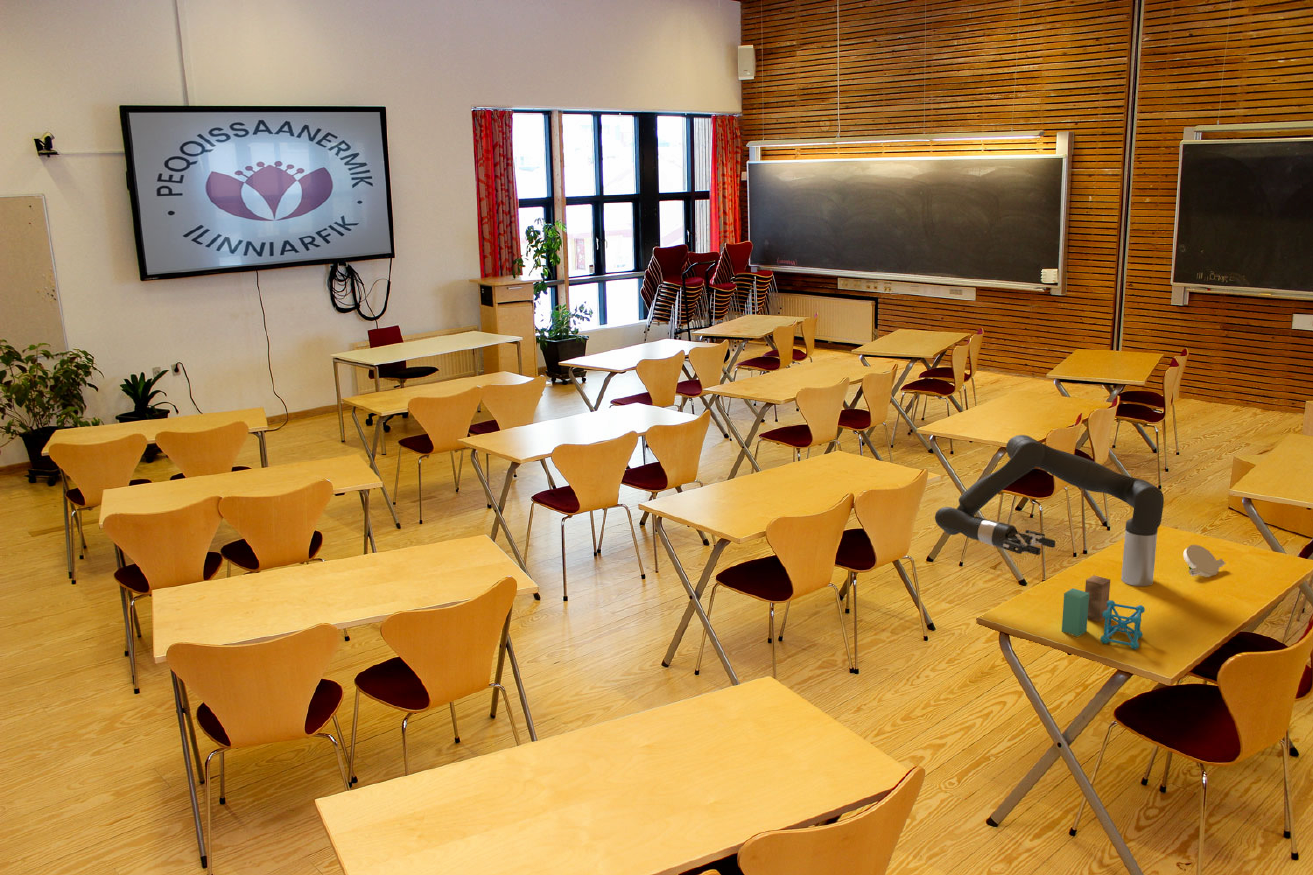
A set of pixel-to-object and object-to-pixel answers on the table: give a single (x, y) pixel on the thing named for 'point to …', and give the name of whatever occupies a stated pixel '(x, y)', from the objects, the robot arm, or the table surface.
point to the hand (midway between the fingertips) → (1047, 547)
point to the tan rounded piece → (1201, 561)
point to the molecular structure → (1122, 624)
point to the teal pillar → (1075, 612)
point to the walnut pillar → (1097, 597)
